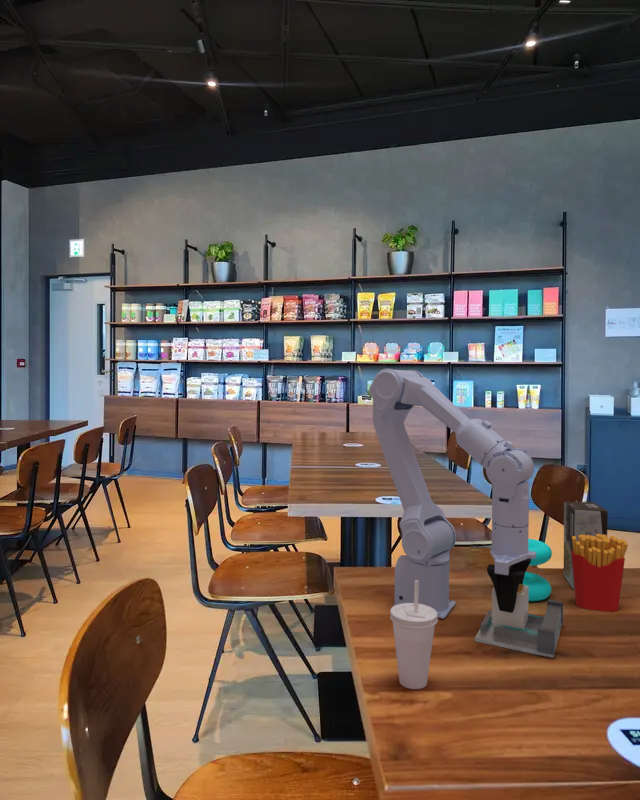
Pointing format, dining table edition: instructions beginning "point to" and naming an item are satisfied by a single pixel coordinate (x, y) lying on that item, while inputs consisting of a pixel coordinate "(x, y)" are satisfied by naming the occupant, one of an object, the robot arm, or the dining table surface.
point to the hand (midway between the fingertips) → (509, 605)
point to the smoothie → (413, 640)
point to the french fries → (598, 571)
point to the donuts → (537, 583)
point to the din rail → (526, 632)
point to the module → (519, 613)
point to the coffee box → (581, 528)
